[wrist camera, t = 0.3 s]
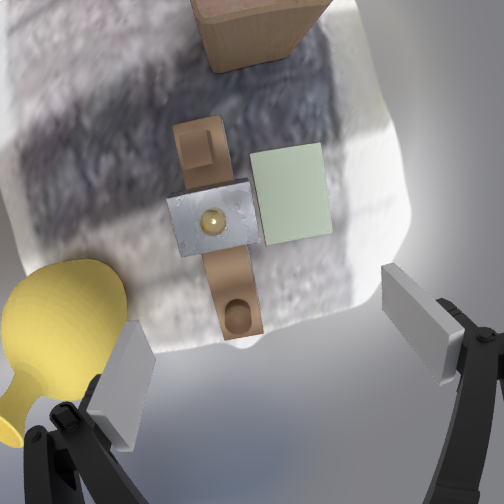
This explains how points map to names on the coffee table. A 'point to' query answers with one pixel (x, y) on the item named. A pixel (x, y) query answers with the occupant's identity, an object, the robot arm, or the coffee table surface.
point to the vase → (58, 336)
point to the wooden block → (253, 29)
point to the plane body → (230, 259)
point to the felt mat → (292, 192)
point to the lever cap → (213, 217)
